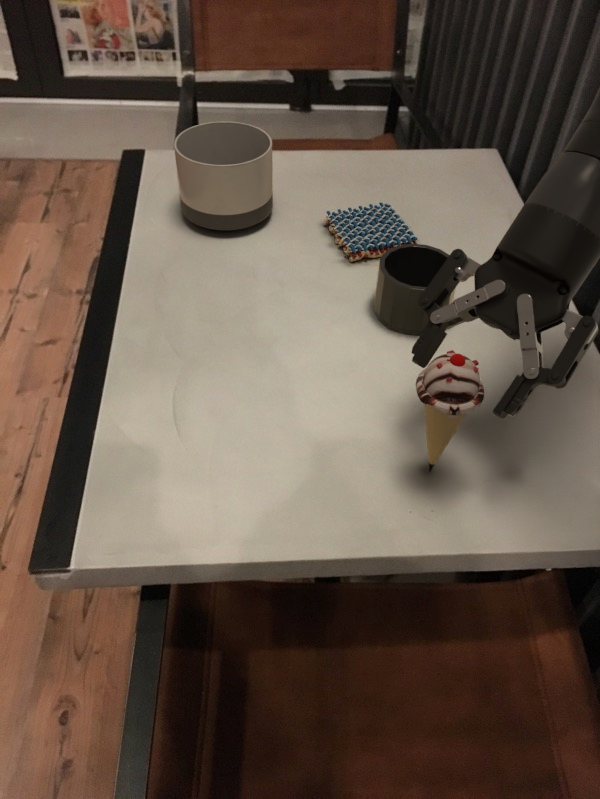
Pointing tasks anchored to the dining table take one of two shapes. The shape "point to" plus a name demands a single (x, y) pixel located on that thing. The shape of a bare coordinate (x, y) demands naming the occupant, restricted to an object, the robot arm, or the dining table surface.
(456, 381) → the ice cream cone
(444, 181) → the dining table surface
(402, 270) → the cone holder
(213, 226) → the planter
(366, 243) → the woven mat
